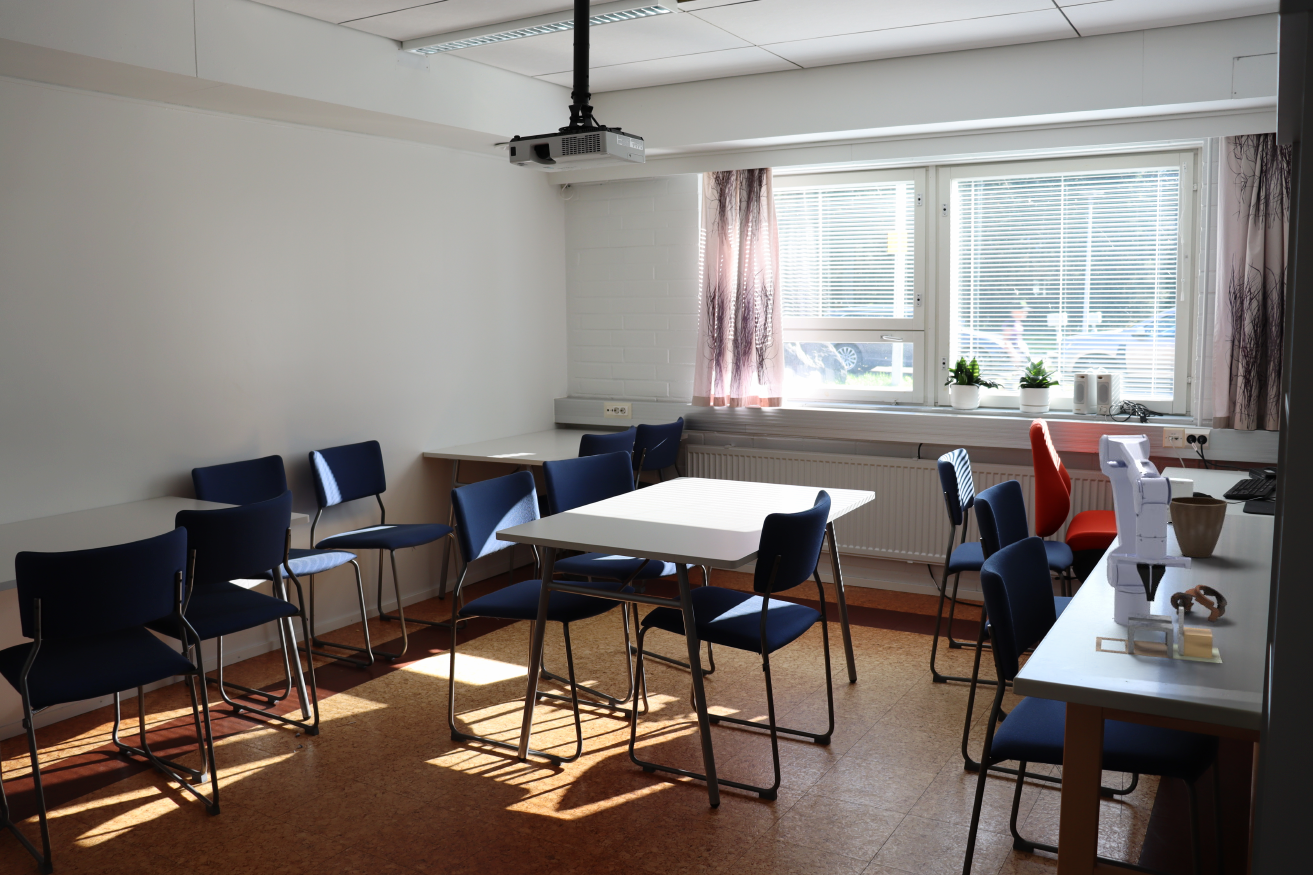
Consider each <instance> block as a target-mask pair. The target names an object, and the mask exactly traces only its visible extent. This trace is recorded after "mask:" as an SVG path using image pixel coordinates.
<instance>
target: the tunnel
mask: <svg viewBox="0 0 1313 875" xmlns="http://www.w3.org/2000/svg"><path fill="white" fill-rule="evenodd" d="M1135 630H1138V631H1139V630H1140V631H1149V632H1150V631H1151V632H1158V633H1159V632H1160V633H1164V635H1165V637H1164V643H1165V645H1167V657H1169V658H1168V659H1172V658H1173V644H1174V634H1175V633H1174V632H1175V630H1174V624H1173V618H1172V616H1171V615H1165V614H1163V615H1161V614H1151V613H1150V614H1140V613H1128V626H1127V640H1128V654H1127V655H1131V654H1134V640H1135Z"/></svg>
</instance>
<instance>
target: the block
mask: <svg viewBox="0 0 1313 875" xmlns="http://www.w3.org/2000/svg"><path fill="white" fill-rule="evenodd" d="M1183 634H1184V655H1183V656H1194V657H1204V658H1212V647H1213V645H1214V644H1213V641H1214V640H1213V639H1214V638H1213V633H1212V630H1211V629H1210V628H1197V627H1187V626H1184V629H1183Z"/></svg>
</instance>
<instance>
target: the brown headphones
mask: <svg viewBox="0 0 1313 875" xmlns="http://www.w3.org/2000/svg"><path fill="white" fill-rule="evenodd" d="M1201 591H1202V592H1203V593H1202V592H1201ZM1207 596H1208V597H1215V599H1216V604H1217V605H1216V606H1217V607H1216V606H1215V602H1214V601H1213V600H1212V599H1209V598H1208V597H1207ZM1193 598H1194V599H1193ZM1193 600H1194V601H1195V602H1197V603H1198V604H1200V605H1201V606H1203V607H1204V608H1206V609H1207V610H1209V611H1210V615H1208V617H1207V619H1208V621H1210V622H1212V621H1214V622H1215V621H1217V620H1218V618H1221V617H1223V616H1224V615H1225V613H1226V606H1227V605H1228V602H1227V601H1228V600H1227V599H1226V598H1225V596H1224V595H1223V594H1222V593H1221V592H1219V591H1218V590H1216V589H1215V588H1214V587H1213V588H1212V587H1210V586H1208V585H1204V584H1196V586H1195V587H1192V588H1189V589H1187V590H1185V592H1182V591H1177V592H1175V593H1173V594H1172V595H1171V596H1170V605H1171V606H1172V608H1174V610H1176V615H1178V616H1179V607H1184V615H1186V611H1188V612H1191V610H1192V608H1193V606H1194V605H1195V603H1194V602H1193Z"/></svg>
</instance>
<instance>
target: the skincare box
mask: <svg viewBox="0 0 1313 875" xmlns="http://www.w3.org/2000/svg"><path fill="white" fill-rule="evenodd" d="M1169 479H1170V482H1171V486H1172V498H1176V497H1194V496H1193V495H1194V479H1191V478H1189V479H1188V478H1179V477H1177V478H1175V477H1169ZM1166 506H1167V522H1172V520H1171V514H1170V508H1169V505H1167V504H1166Z"/></svg>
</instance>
